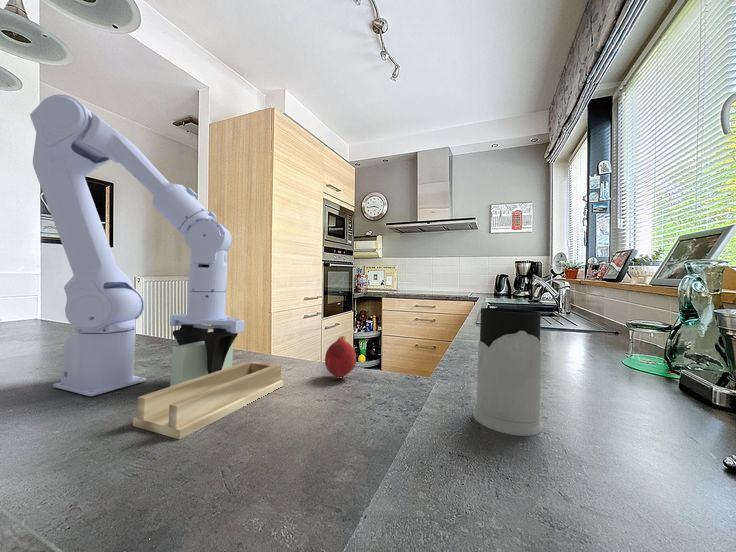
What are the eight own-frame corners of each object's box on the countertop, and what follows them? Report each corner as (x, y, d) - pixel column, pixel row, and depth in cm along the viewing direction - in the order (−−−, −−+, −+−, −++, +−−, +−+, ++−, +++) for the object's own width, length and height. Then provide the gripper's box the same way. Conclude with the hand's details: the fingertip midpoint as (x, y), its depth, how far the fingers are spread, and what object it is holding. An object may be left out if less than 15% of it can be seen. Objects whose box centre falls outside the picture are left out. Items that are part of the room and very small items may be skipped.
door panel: (169, 392, 48) (172, 346, 48) (221, 374, 57) (222, 336, 57) (181, 394, 47) (183, 348, 47) (231, 376, 56) (233, 338, 56)
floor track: (133, 425, 36) (134, 396, 36) (247, 380, 54) (247, 360, 54) (179, 439, 34) (181, 407, 34) (283, 386, 52) (284, 365, 52)
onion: (350, 385, 53) (352, 339, 54) (319, 382, 55) (321, 337, 55) (358, 375, 59) (360, 334, 59) (330, 372, 60) (331, 332, 60)
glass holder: (484, 433, 38) (488, 311, 38) (456, 392, 52) (459, 304, 52) (557, 437, 38) (560, 314, 38) (509, 395, 52) (511, 306, 52)
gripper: (258, 292, 53) (255, 371, 53) (196, 289, 58) (192, 361, 58) (227, 293, 47) (222, 383, 46) (159, 289, 52) (155, 370, 51)
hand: (203, 371), depth 52 cm, fingers open, 4 cm apart
